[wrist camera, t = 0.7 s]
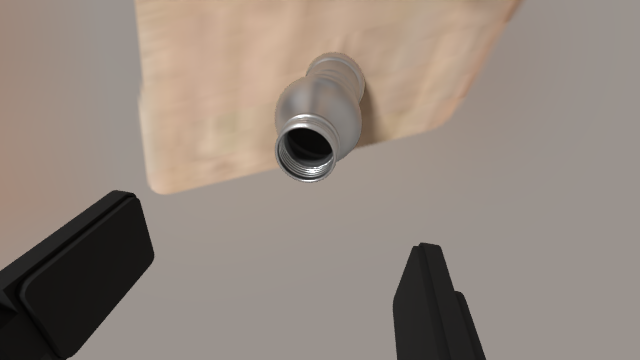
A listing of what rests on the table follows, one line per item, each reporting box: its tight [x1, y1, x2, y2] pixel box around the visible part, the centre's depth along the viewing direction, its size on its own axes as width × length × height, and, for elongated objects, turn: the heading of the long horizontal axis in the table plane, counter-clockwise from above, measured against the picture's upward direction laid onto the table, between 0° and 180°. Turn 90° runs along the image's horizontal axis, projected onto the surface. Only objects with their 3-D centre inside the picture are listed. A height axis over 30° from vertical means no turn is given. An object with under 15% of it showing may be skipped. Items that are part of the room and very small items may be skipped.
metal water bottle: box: [275, 52, 365, 183], centre depth 25 cm, size 6×7×20 cm
